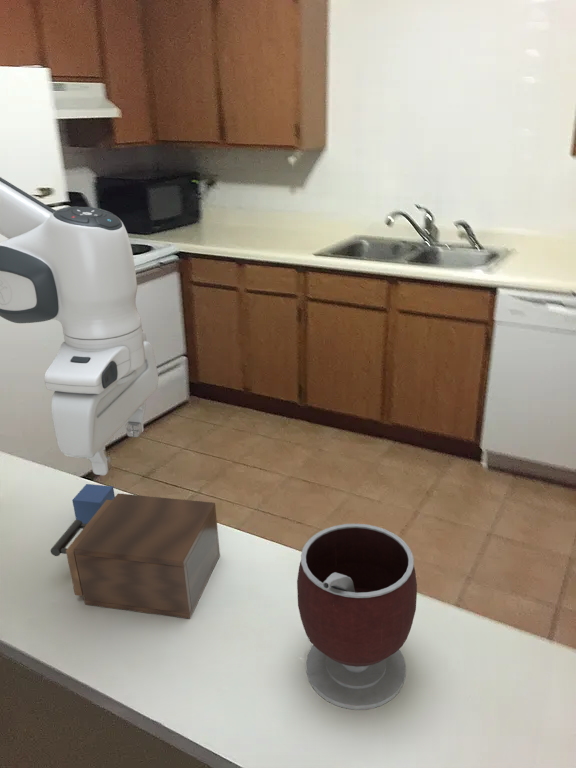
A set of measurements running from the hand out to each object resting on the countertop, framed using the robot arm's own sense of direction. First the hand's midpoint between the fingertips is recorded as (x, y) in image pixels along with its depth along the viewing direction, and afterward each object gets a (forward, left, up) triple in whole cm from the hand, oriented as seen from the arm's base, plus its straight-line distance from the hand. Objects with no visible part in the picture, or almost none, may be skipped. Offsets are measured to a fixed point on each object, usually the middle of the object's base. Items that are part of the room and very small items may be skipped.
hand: (120, 452), depth 84 cm
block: (-17, +19, -25) cm, 35 cm away
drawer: (-5, +6, -24) cm, 25 cm away
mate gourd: (+30, -6, -25) cm, 40 cm away
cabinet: (-1, +6, -25) cm, 26 cm away
